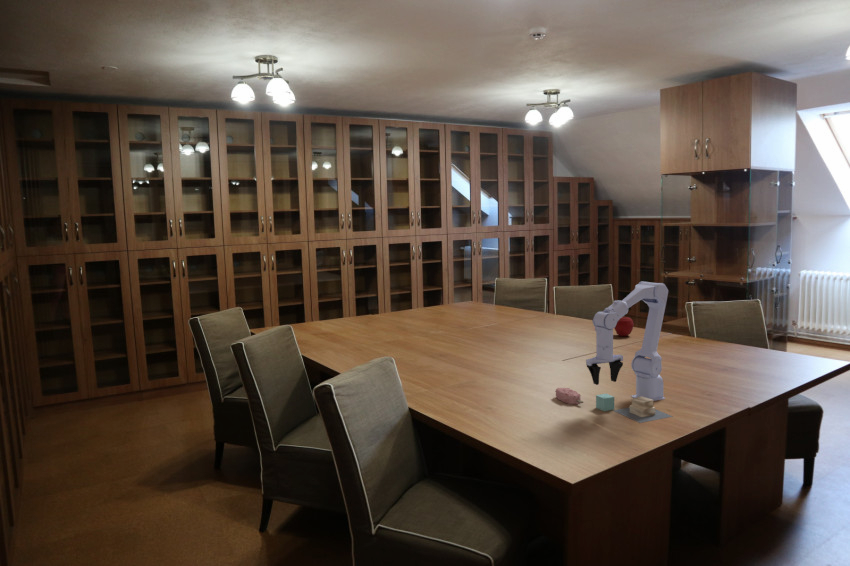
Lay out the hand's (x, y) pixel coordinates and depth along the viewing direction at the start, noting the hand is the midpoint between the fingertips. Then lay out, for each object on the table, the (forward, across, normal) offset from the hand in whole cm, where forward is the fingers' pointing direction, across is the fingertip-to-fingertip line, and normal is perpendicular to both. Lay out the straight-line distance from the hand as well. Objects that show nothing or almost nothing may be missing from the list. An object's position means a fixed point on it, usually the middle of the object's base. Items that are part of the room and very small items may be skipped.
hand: (604, 382), depth 212 cm
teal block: (+10, 0, 0) cm, 10 cm away
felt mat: (+10, -8, +10) cm, 16 cm away
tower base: (+10, -8, +10) cm, 16 cm away
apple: (+10, -87, -97) cm, 131 cm away
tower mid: (+7, -8, +10) cm, 15 cm away
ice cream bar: (+10, +6, -13) cm, 18 cm away
